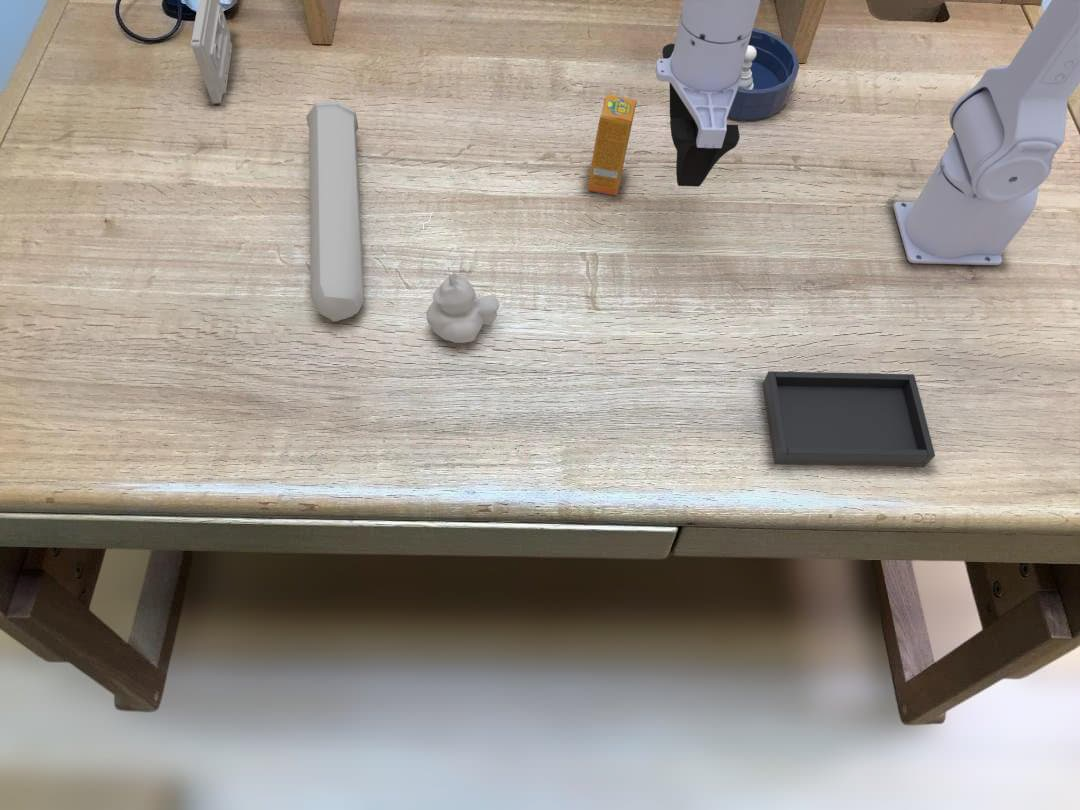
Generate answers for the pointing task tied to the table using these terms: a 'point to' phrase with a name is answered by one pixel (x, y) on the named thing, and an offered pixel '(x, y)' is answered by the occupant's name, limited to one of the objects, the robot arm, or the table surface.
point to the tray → (846, 419)
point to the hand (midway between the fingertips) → (685, 152)
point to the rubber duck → (460, 310)
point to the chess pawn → (748, 68)
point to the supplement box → (611, 144)
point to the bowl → (766, 78)
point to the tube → (334, 211)
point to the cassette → (212, 47)
